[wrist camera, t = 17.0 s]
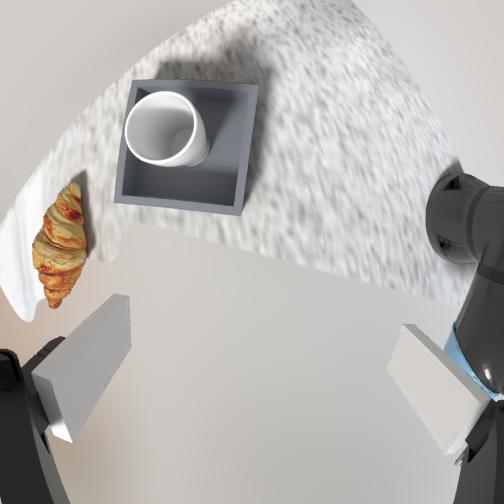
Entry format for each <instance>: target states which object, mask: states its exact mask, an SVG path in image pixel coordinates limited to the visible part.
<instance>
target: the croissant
mask: <svg viewBox="0 0 504 504" xmlns="http://www.w3.org/2000/svg"><path fill="white" fill-rule="evenodd" d="M80 204H81V190H80V187H79V185H78V184H77V183H76V182H72V183H70V185H69V186H67V187H66V188H65V190H64V189H63V190H62V191H61V193H59V194H58V199H57V200H56V202H55V203H54V204H52V205H51V206H50V207H49V208H48V209H47V212H46V213H45V215H44V216H43V220H44V224H43V227H42V228H41V230H40V231H39V233H38V234H37V235H36V238H35V240H34V243H33V244H32V247H33V250H32V256H33V265H34V268H35V269H37V270H38V272H39V280H40V282H41V283H43V284H44V285H45V286H44V293H45V296H46V298H47V299H48V301H49V307H50V308H53V309H55V308H58V307H59V306H60V304H61V303H62V299H63V298H65V297H66V296H67V295H68V294H70V292H71V290H72V288H73V286H74V284H75V283H76V281H77V279H78V278H79V276H80V274H81V270H82V267H83V265H84V263H85V262H86V258H87V254H86V247H87V239H86V238H85V233H84V228H83V227H82V225H83V223H84V220H83V214H82V211H81V206H80Z"/></svg>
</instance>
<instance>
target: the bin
mask: <svg viewBox="0 0 504 504" xmlns="http://www.w3.org/2000/svg"><path fill="white" fill-rule="evenodd" d="M258 90H259V85H252V84H243V83H233V82H221V81H207V80H183V79H148V80H132V84H131V89H130V93H129V98H128V103H127V108H126V113H125V119H124V125H123V131H122V137H121V144H120V151H119V158H118V167H117V176H116V186H115V197H114V203H122V204H133V205H144V206H154V207H164V208H174V209H183V210H192V211H201V212H210V213H219V214H227V215H235V216H241V215H242V208H243V200H244V192H245V185H246V177H247V170H248V162H249V155H250V148H251V140H252V133H253V126H254V119H255V112H256V105H257V98H258ZM159 91H172V92H176V93H179V94H181V95H183V96H185V97H186V98H187V99H188V100H189V101H190V102H191V103H192V104H193V105H194V106H195V108H196V109H197V110H198V112H199V113H200V115H201V117H202V120H203V122H204V126H205V129H206V134H207V136H208V138H209V141H210V149H209V153H208V155H207V157H206V158H205V159H204V160H203V161H202V162H201V163H199V164H197V165H194V166H176V167H163V166H157V165H153V164H150V163H148V162H145V161H142V160H141V159H139V158H138V157H136V156H135V155H134V154H133V153H132V152H131V150H130V149H129V147H128V145H127V142H126V138H125V125H126V121H127V118H128V116H129V113H130V112H131V110H132V109H133V107H134V106H135V105H136V104H137V103H138V102H139V101H140V100H141V99H143V98H144V97H146V96H147V95H149V94H152V93H155V92H159Z"/></svg>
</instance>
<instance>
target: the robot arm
mask: <svg viewBox="0 0 504 504" xmlns="http://www.w3.org/2000/svg"><path fill="white" fill-rule="evenodd" d="M426 230H427V235H428V238H429V241H430V243H431V246H432V247H433V249H434V250H435V252H436V253H437V254H438V255H439V256H440V257H442V258H444V259H446V260H448V261H450V262H453V263H458V264H464V263H474V262H479V265H478V268H477V271H476V273H475V276H474V278H473V281H472V284H471V287H470V289H469V292H468V294H467V297H466V299H465V302H464V304H463V306H462V309H461V311H460V313H459V315H458V317H457V320H456V321H455V322H454V324H453V326H452V331H451V333H450V335H449V338H448V340H447V342H446V345H445V347H444V351H443V350H442V349H440V348H439V347H438V346H437V345H436V344H435V343H434V342H433V341H432V340H431V339H430V338H429V337H428V336H426V335H425V334H424V333H423V332H422V331H421V330H420V329H419V328H418V327H417V326H416V325H414V324H403V325H402V328H401V331H400V334H399V337H398V340H397V343H396V345H395V348H394V351H393V354H392V356H391V359H390V362H389V364H388V367H387V371H388V373H389V374H390V376H391V377H392V378H393V380H394V381H395V382H396V384H397V386H398V387H399V388H400V390H401V391H402V393H403V394H404V396H405V397H406V399H407V400H408V402H409V403H410V405H411V406H412V408H413V409H414V410H415V412H416V413H417V415H418V416H419V418H420V419H421V421H422V422H423V424H424V425H425V427H426V428H427V430H428V431H429V433H430V435H431V436H432V438H433V439H434V441H435V442H436V444H437V445H438V447H439V448H440V450H441V452H442V453H443V454H444V455H447V454H450V453H453V452H456V451H458V449H459V448H460V446H461V445H462V444H463V442H464V441H466V442H467V444H468V446H467V447H466V448H465V450H464V451H463V452H462V454H461V455H460V456H459V458H458V459H457V460H456V462H455V465H457V463H458V462H459V461H460V460H462V463H461V464H460V466H461V472H460V477H459V481H458V486H457V491H456V495H455V499H454V503H453V504H504V400H498V401H497V402H495V401H494V400H493V398H495V397H496V396H498V395H499V393H501V394H503V395H504V187H498V186H490V185H488V184H486V183H484V182H483V181H481V180H479V179H477V178H476V177H474V176H472V175H469V174H464V173H453V174H449V175H447V176H445V177H444V178H442V179H441V180H440V181H439V182H438V183H437V184H436V186H435V187H434V189H433V191H432V193H431V195H430V197H429V201H428V204H427V209H426ZM129 308H130V306H129V296H125V295H119V294H113V295H112V296H111V297H110V298H109V299H108V300H107V301H106V302H104V304H102V305H101V306H100V307H99V308H98V309H97V310H96V311H95V312H94V313H92V314H91V315H90V316H89V317H88V318H87V319H86V320H85V321H84V322H83V323H82V324H81V325H79V327H77V328H76V329H75V330H74V331H73V332H72V333H71V334H70V335H69V336H68V337H67V338H65V337H61V336H60V337H58V338H55V339H53V340H51V341H49V342H48V343H47V344H46V345H45V346H44V347H43V349H41V350H40V351H39V352H37V355H34V356H33V357H32V358H31V359H30V360H29V361H28V362H27V363H26V364H25V365H24V366H23V367H22V368H21V367H20V364H19V360H18V357H17V355H16V354H15V353H14V352H13V351H11V350H8V349H0V498H1V502H2V504H70V502H69V500H68V497H67V495H66V492H65V490H64V487H63V484H62V482H61V479H60V477H59V474H58V471H57V468H56V465H55V462H54V459H53V456H52V452H51V449H50V445H49V442H48V438H47V436H46V433H45V430H46V428H47V427H48V425H49V424H50V427H51V429H52V431H53V434H54V435H55V436H57V437H60V438H62V439H64V440H67V441H69V442H71V443H73V442H74V440H75V438H76V437H77V435H78V433H79V431H80V430H81V428H82V426H83V424H84V423H85V421H86V420H87V418H88V416H89V414H90V413H91V411H92V410H93V408H94V406H95V405H96V403H97V401H98V400H99V398H100V396H101V395H102V393H103V392H104V390H105V388H106V387H107V385H108V383H109V382H110V380H111V379H112V377H113V376H114V374H115V372H116V371H117V369H118V368H119V366H120V364H121V363H122V361H123V360H124V358H125V357H126V355H127V354H128V352H129V351H130V349H131V335H130V309H129Z"/></svg>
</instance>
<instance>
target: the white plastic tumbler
mask: <svg viewBox="0 0 504 504" xmlns="http://www.w3.org/2000/svg"><path fill="white" fill-rule="evenodd" d="M125 138H126V142H127V145H128V147H129V149H130V150H131V152H132V153H133V154H134V155H135V156H136V157H138V158H139V159H141V160H142V161H145V162H148V163H150V164H153V165H157V166H163V167H176V166H194V165H197V164H199V163H201V162H202V161H203V160H204V159H205V158H206V157H207V155H208V153H209V149H210V141H209V138H208V136H207V134H206V129H205V126H204V122H203V120H202V117H201V115H200V113H199V112H198V110H197V109H196V108H195V106H194V105H193V104H192V103H191V102H190V101H189V100H188V99H187V98H186V97H185V96H183V95H181V94H179V93H176V92H172V91H159V92H155V93H152V94H149V95H147V96H146V97H144V98H143V99H141V100H140V101H139V102H138V103H137V104H136V105H135V106H134V107H133V109H132V110H131V112H130V113H129V116H128V118H127V121H126V125H125Z"/></svg>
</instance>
